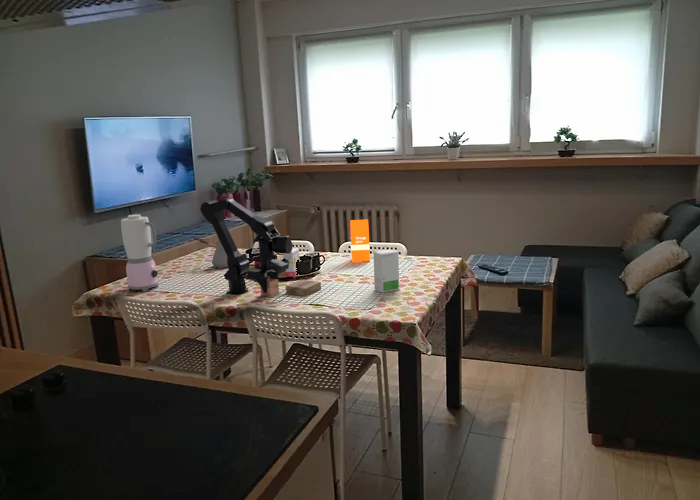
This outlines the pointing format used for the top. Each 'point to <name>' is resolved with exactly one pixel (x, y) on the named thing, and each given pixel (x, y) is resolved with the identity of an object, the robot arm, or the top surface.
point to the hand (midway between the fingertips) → (269, 290)
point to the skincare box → (386, 270)
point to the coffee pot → (217, 254)
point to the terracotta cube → (271, 287)
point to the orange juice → (360, 240)
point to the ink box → (291, 262)
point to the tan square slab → (303, 287)
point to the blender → (139, 252)
